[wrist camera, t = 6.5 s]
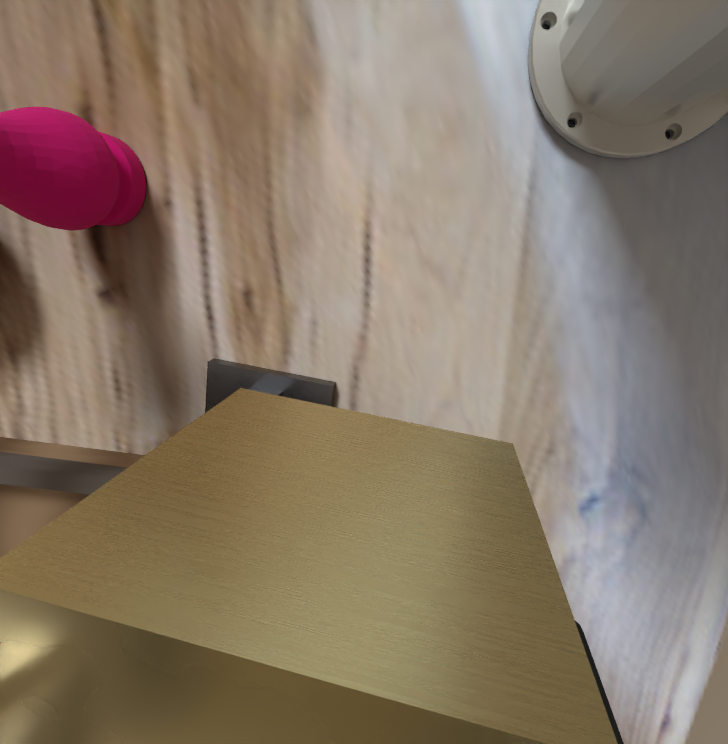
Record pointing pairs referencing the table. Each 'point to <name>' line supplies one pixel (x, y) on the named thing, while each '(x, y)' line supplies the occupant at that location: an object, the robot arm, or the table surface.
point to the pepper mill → (66, 171)
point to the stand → (263, 383)
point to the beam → (48, 483)
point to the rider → (297, 594)
